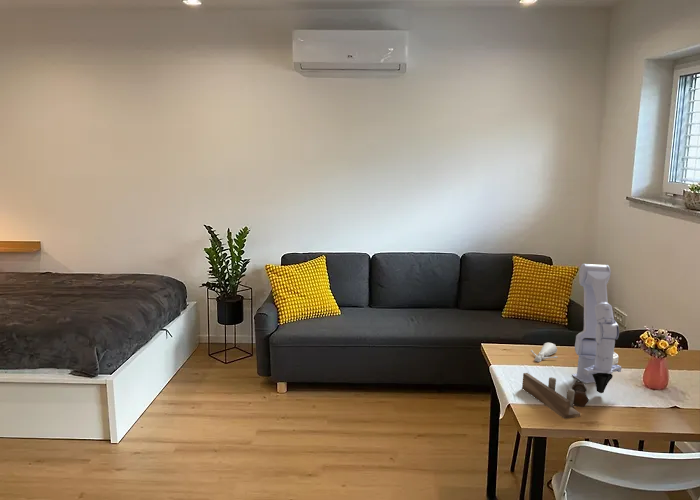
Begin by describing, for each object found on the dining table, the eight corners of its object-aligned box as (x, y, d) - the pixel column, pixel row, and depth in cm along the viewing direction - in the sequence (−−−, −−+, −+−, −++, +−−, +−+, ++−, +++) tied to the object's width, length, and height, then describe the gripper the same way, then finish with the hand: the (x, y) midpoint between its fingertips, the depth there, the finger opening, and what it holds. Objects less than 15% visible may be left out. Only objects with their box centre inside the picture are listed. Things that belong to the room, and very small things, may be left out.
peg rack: (541, 386, 220) (543, 370, 219) (585, 415, 198) (587, 398, 196) (521, 388, 217) (523, 373, 216) (564, 418, 195) (566, 401, 194)
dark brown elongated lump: (580, 394, 218) (580, 410, 204) (568, 386, 220) (568, 401, 206) (590, 383, 217) (591, 398, 203) (578, 374, 218) (578, 389, 204)
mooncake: (584, 361, 246) (585, 353, 246) (588, 353, 257) (589, 345, 256) (616, 368, 241) (617, 359, 240) (619, 358, 251) (620, 350, 250)
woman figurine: (566, 344, 253) (550, 358, 240) (565, 353, 254) (550, 368, 241) (539, 337, 260) (522, 351, 247) (538, 347, 261) (522, 361, 248)
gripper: (595, 361, 205) (590, 398, 207) (629, 358, 209) (624, 394, 212) (581, 354, 211) (577, 390, 214) (614, 351, 216) (610, 386, 218)
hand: (600, 391), depth 213 cm, fingers closed
